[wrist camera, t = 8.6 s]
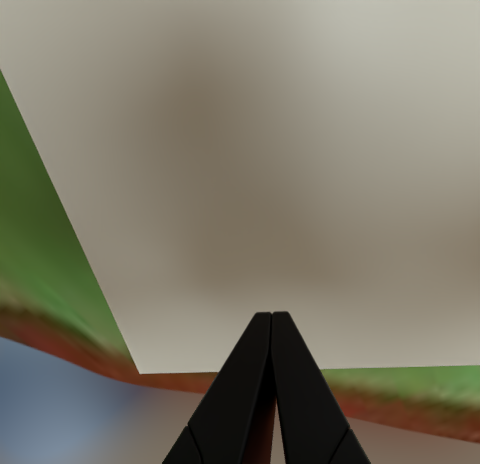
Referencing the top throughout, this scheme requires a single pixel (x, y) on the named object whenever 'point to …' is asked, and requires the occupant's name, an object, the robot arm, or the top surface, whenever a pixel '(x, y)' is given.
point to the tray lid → (265, 169)
